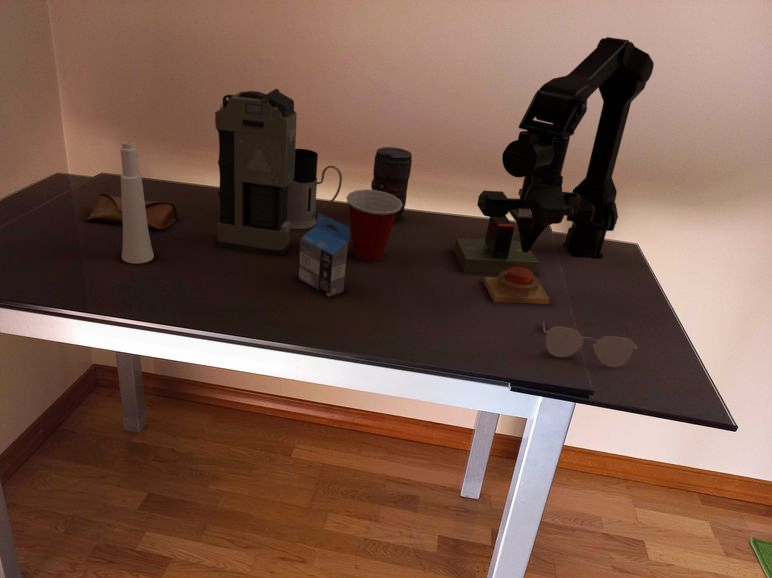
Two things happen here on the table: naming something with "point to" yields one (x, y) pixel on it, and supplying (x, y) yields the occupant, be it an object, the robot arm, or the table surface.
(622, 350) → the sunglasses
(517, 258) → the panel
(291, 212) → the glass holder
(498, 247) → the selector
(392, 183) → the camera lens
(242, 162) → the device
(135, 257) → the cosmetic bottle
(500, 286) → the button block
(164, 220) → the sunglasses case
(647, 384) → the table surface
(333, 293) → the ink cartridge box
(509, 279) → the button
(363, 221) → the plastic cup
